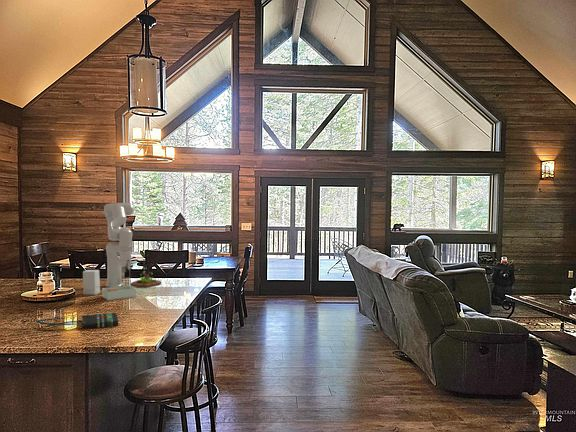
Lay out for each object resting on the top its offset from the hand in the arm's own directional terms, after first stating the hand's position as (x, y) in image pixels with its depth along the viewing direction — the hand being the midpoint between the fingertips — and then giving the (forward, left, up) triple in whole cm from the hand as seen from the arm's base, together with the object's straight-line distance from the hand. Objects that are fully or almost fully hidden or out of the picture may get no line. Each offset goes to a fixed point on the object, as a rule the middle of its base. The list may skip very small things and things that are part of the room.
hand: (125, 276), depth 264 cm
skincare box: (-20, -16, -13) cm, 29 cm away
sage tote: (0, -4, -13) cm, 13 cm away
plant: (-30, +23, -13) cm, 40 cm away
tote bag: (+51, -38, -14) cm, 65 cm away
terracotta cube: (0, -8, -12) cm, 15 cm away
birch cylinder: (0, 0, -1) cm, 1 cm away
